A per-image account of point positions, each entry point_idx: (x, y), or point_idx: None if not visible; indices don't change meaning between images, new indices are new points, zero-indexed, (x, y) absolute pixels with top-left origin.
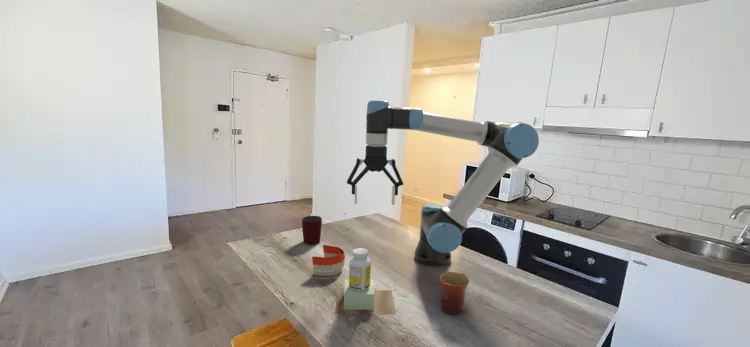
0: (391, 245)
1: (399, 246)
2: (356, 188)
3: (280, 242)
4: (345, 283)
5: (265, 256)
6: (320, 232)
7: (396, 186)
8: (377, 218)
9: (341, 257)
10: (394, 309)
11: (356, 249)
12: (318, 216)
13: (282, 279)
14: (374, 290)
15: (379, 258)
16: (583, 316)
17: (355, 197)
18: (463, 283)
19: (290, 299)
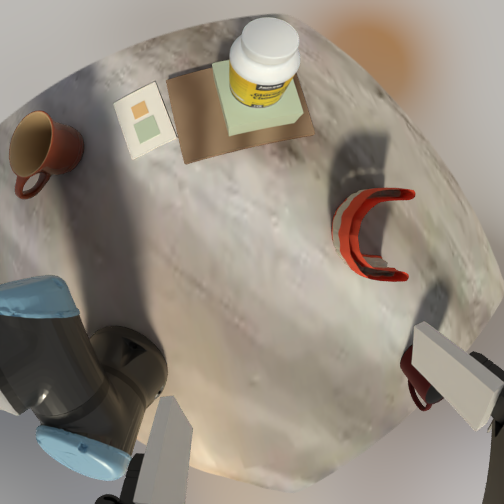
0: (235, 405)
1: (215, 405)
2: (486, 380)
3: (460, 326)
4: (296, 93)
5: (471, 261)
6: (410, 374)
7: (112, 502)
8: (290, 485)
9: (348, 220)
10: (170, 91)
11: (289, 46)
12: (430, 404)
13: (428, 175)
14: (226, 150)
15: (251, 337)
16: None
17: (447, 342)
18: (22, 159)
19: (387, 105)
